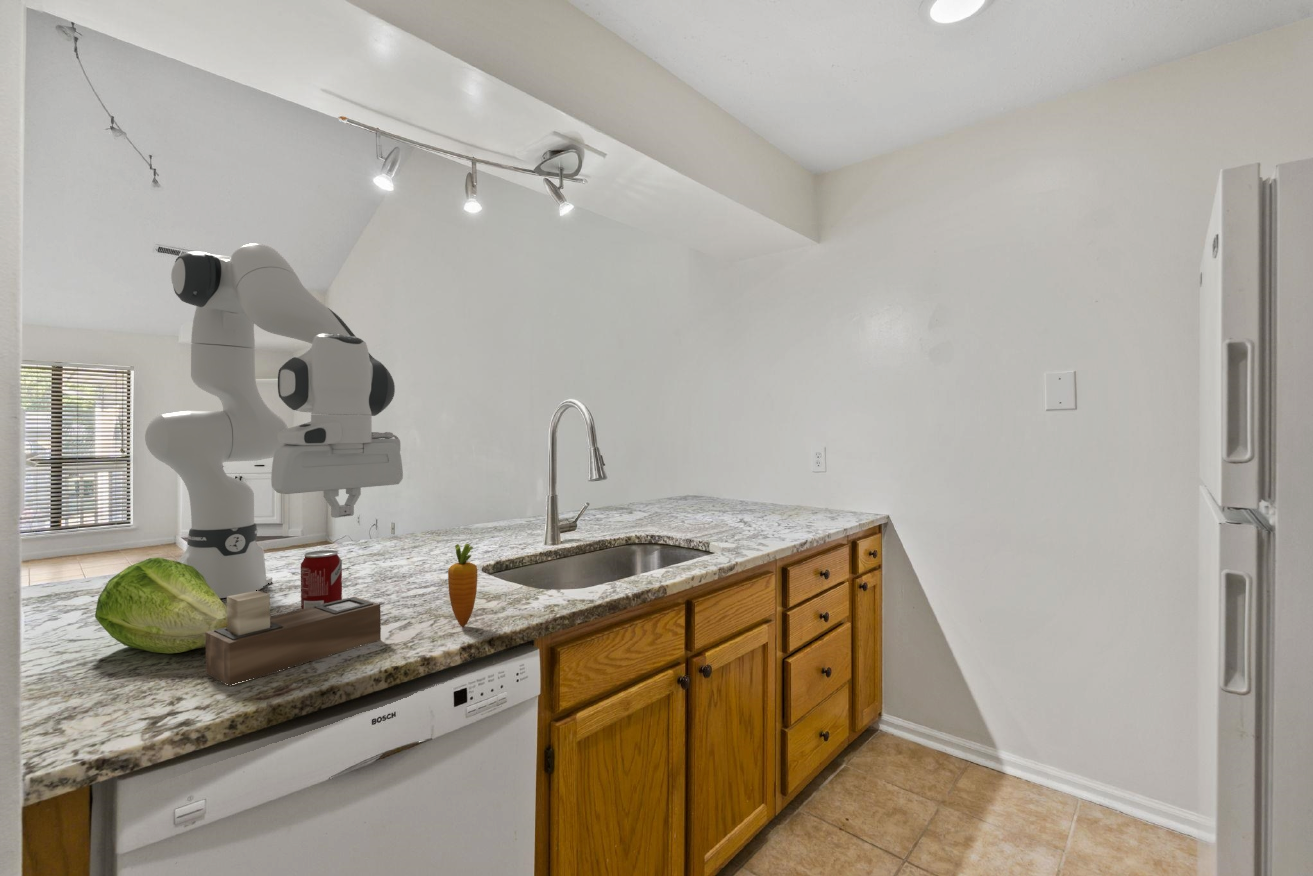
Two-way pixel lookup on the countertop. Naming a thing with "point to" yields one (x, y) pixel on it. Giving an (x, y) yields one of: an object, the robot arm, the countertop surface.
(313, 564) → the soda can
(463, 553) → the carrot
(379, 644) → the countertop surface
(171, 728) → the countertop surface
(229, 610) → the maple peg
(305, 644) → the walnut block
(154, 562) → the lettuce
